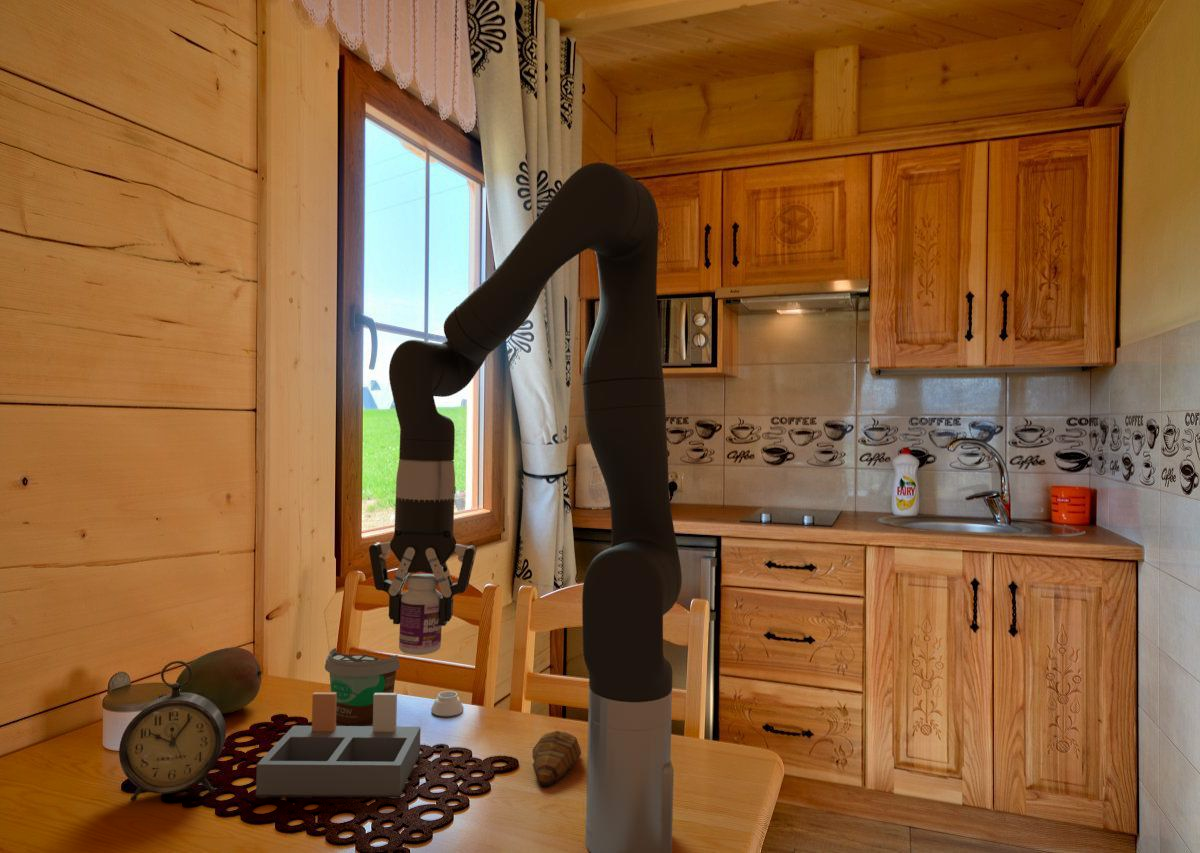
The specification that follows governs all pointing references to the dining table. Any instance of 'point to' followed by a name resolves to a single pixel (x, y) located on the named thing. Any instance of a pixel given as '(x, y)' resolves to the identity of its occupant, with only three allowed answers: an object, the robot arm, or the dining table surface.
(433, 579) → the pill bottle
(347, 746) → the grey divided tray
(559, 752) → the croissant
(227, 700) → the fruit
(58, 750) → the dining table surface
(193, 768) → the alarm clock
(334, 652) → the food container
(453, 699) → the white jar
